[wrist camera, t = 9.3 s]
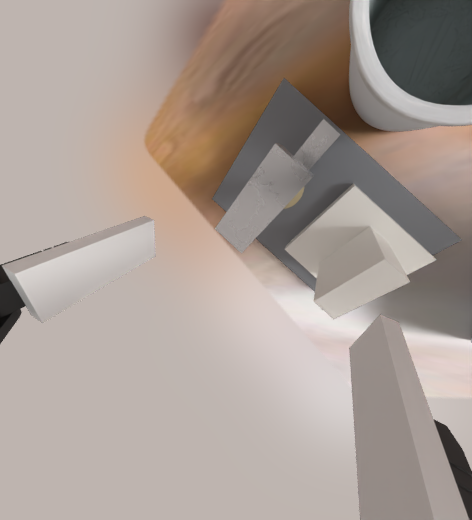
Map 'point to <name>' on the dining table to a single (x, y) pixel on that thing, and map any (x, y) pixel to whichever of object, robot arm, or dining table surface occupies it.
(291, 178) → the t key
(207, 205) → the dining table surface
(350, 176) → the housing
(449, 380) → the dining table surface
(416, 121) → the utensil holder
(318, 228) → the cover
